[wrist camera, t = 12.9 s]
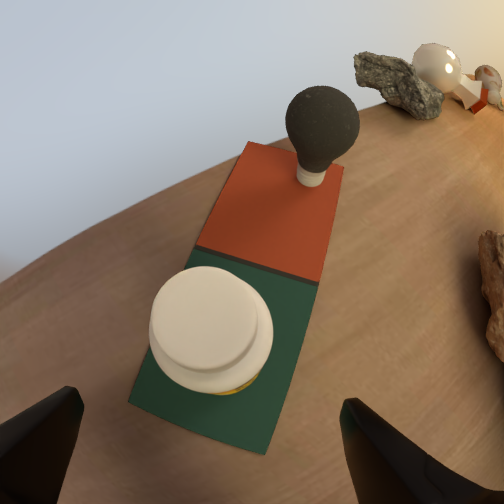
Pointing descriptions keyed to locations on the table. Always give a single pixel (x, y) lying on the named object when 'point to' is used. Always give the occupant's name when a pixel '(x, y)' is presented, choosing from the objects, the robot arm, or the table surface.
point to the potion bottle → (448, 75)
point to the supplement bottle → (210, 331)
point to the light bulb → (320, 130)
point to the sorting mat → (264, 282)
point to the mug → (490, 83)
